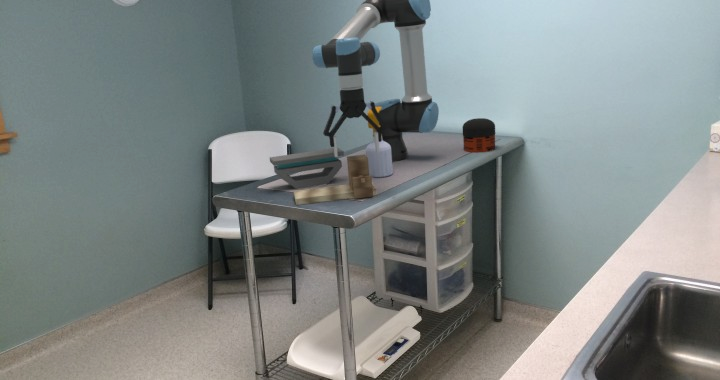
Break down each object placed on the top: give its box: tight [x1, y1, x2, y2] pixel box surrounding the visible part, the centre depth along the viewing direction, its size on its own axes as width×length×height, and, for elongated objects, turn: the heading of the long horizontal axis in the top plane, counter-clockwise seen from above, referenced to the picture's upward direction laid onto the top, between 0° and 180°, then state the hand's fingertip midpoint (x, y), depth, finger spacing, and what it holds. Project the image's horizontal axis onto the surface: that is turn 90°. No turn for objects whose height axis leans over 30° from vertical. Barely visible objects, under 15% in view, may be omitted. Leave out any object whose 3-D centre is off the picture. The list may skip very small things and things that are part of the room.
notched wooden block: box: [346, 153, 374, 199], centre depth 200 cm, size 6×11×12 cm, turn 10°
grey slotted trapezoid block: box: [269, 147, 345, 190], centre depth 220 cm, size 25×8×11 cm, turn 108°
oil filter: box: [462, 117, 496, 154], centre depth 252 cm, size 13×12×13 cm
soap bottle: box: [365, 107, 393, 178], centre depth 222 cm, size 9×9×25 cm
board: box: [293, 183, 377, 206], centre depth 203 cm, size 26×10×2 cm, turn 100°
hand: (356, 154), depth 201 cm, fingers open, 13 cm apart
